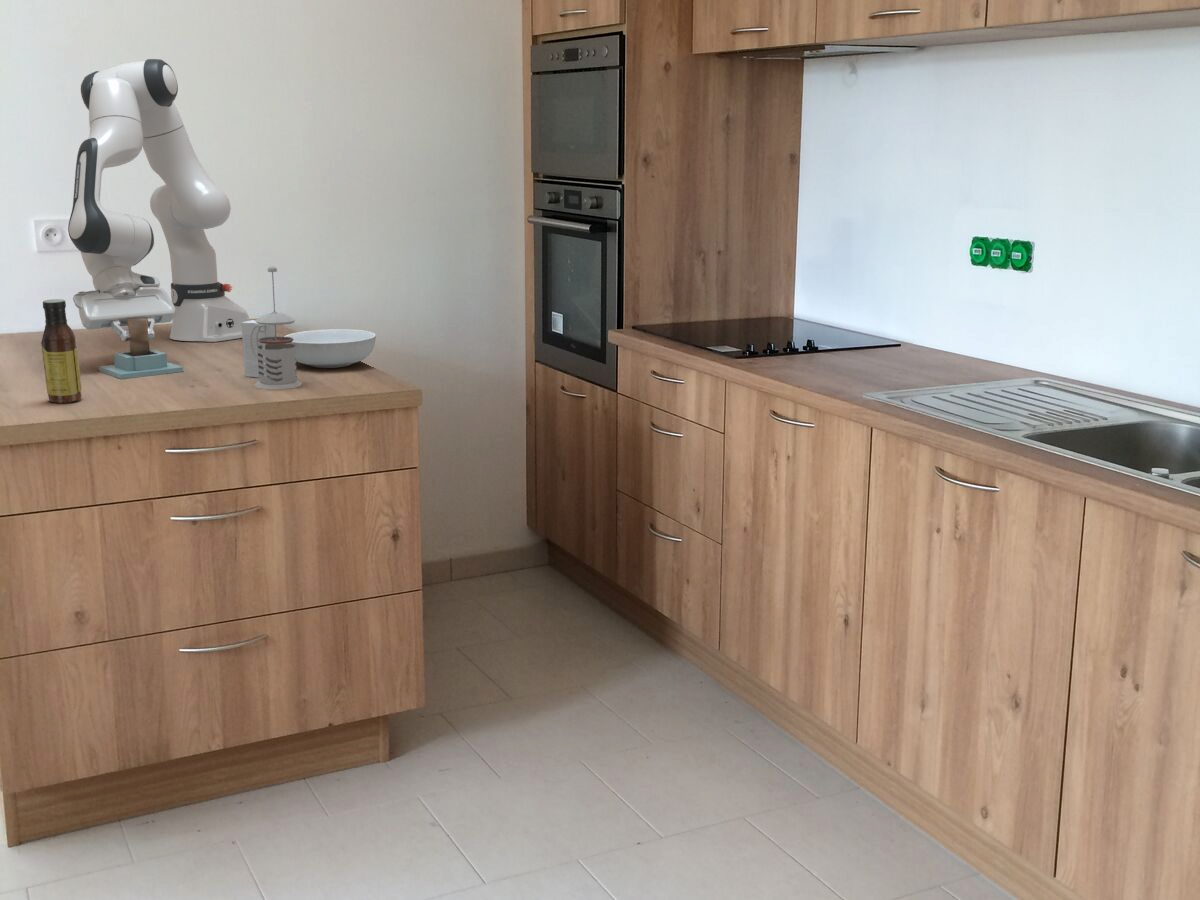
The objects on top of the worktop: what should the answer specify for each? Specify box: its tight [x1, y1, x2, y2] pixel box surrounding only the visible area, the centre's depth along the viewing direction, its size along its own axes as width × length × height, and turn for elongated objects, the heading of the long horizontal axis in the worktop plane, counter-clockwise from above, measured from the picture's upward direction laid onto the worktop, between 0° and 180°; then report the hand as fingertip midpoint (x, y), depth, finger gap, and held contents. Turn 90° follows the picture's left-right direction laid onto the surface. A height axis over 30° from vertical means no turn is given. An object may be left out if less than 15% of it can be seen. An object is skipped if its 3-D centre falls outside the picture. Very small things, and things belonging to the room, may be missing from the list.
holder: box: [98, 348, 184, 380], centre depth 271 cm, size 14×12×4 cm
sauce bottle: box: [40, 298, 82, 404], centre depth 238 cm, size 7×6×20 cm
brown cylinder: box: [127, 318, 150, 357], centre depth 269 cm, size 4×4×9 cm
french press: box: [250, 265, 303, 390], centre depth 257 cm, size 10×12×25 cm
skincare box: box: [241, 319, 275, 378], centre depth 267 cm, size 6×4×12 cm
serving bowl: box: [283, 328, 377, 369], centre depth 282 cm, size 21×21×7 cm
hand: (139, 338), depth 269 cm, fingers closed on brown cylinder, 4 cm apart
